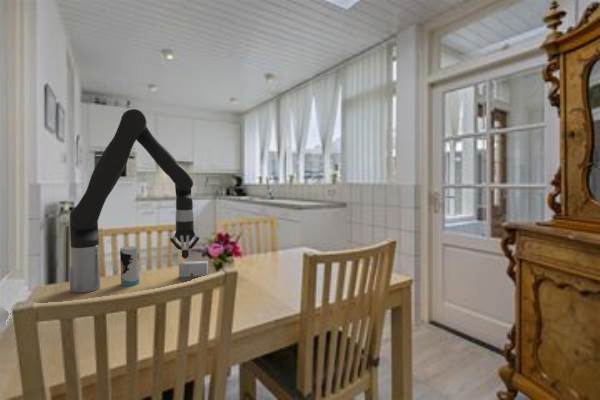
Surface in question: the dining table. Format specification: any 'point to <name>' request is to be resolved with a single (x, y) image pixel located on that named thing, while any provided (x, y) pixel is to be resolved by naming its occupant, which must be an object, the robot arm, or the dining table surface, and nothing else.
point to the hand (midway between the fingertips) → (185, 258)
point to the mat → (188, 278)
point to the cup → (129, 265)
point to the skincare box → (193, 268)
